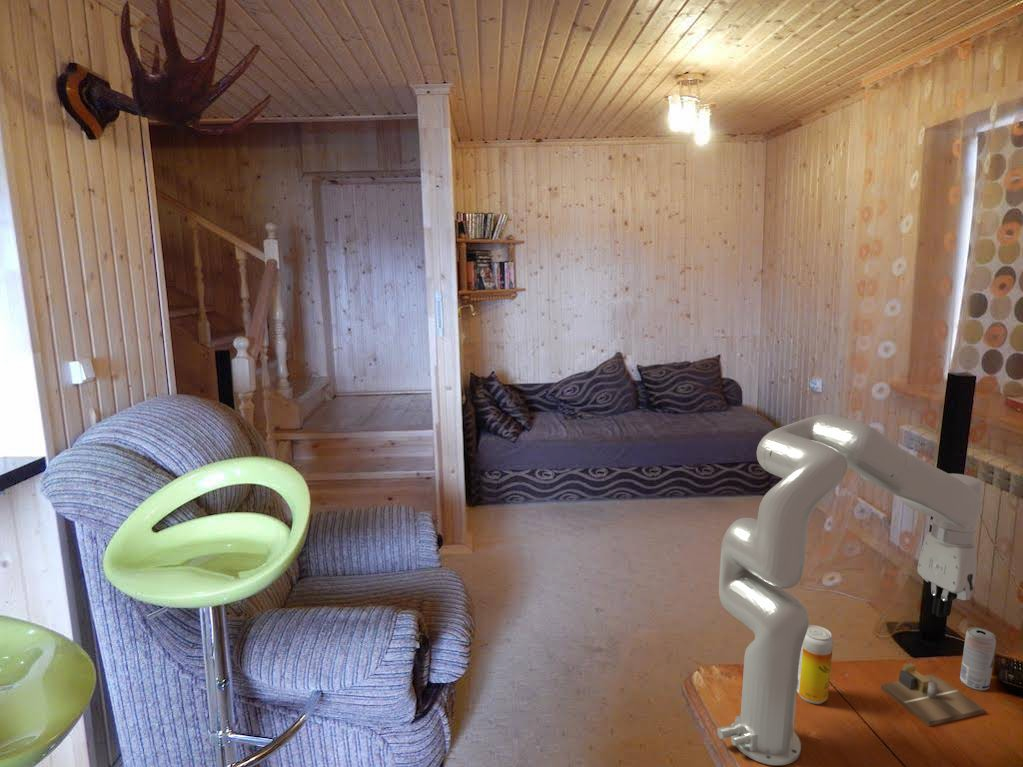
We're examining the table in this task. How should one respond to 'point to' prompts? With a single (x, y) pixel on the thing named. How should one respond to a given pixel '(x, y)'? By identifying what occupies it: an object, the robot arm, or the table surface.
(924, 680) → the latch bar
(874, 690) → the table surface
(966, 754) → the table surface
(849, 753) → the table surface
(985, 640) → the energy drink
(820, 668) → the beer can
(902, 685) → the lock board
